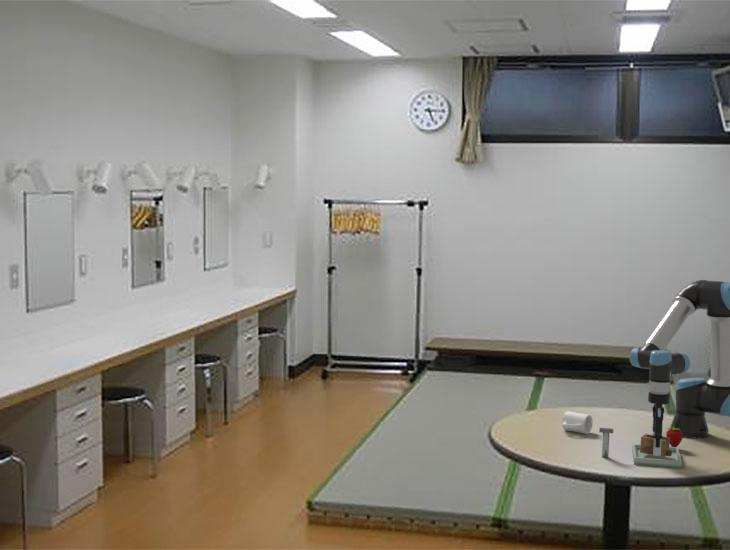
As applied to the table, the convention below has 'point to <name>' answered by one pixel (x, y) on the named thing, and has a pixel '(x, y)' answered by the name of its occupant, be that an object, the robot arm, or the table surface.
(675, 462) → the tray
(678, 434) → the strawberry
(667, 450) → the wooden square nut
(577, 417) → the mug
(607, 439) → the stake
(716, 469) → the table surface
